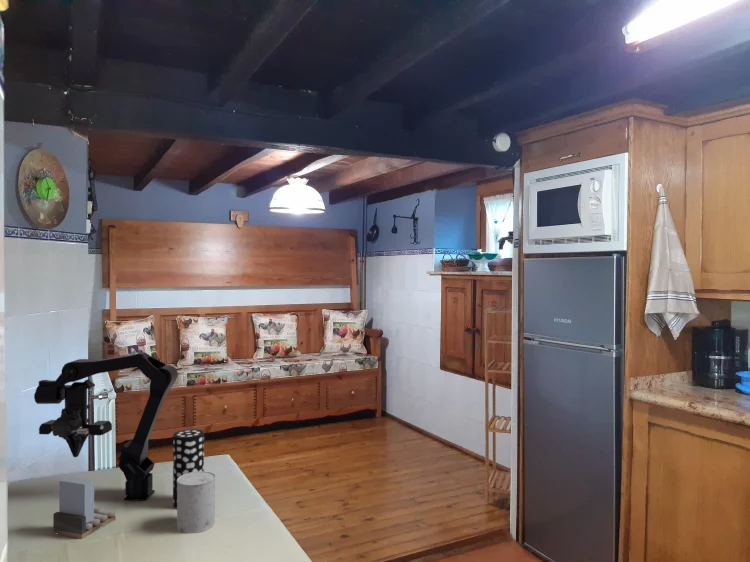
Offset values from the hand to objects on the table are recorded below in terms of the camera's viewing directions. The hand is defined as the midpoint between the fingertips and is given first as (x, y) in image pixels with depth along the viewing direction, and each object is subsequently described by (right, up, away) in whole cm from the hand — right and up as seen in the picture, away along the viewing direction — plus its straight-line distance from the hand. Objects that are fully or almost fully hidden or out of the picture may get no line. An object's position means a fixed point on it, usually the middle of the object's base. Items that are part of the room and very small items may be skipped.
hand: (75, 456), depth 157 cm
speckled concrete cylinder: (+40, -13, -16) cm, 45 cm away
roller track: (+12, -12, -18) cm, 25 cm away
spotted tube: (+34, -13, -3) cm, 36 cm away
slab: (+11, -9, -20) cm, 25 cm away
